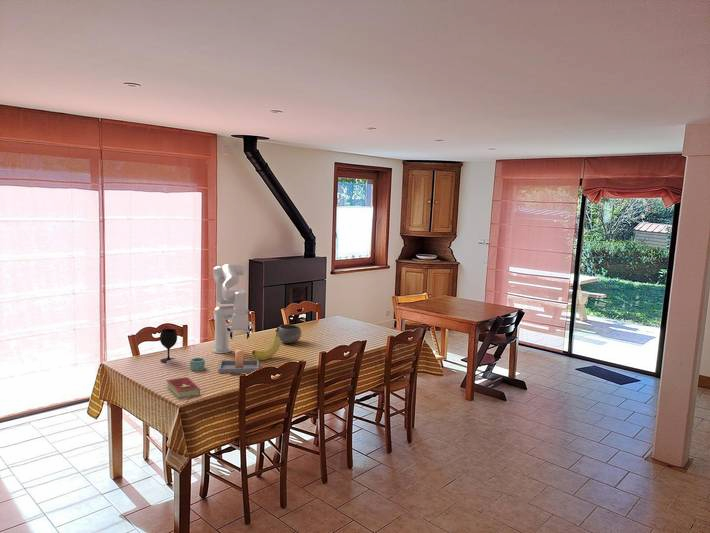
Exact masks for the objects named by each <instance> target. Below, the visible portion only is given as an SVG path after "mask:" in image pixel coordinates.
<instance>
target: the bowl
mask: <svg viewBox="0 0 710 533" xmlns="http://www.w3.org/2000/svg"><path fill="white" fill-rule="evenodd" d="M278 328H279V331H278V336H279V338H280V342H282V343H284V344H288V343H289V344H294V343H296V342H298V341H299V340H300V339H301V337H302V330H301V327H300V325H298V324H292V323H289V324H288V323H286V324H281V325H280V326H278Z"/></svg>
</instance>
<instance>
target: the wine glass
mask: <svg viewBox="0 0 710 533" xmlns="http://www.w3.org/2000/svg"><path fill="white" fill-rule="evenodd" d="M159 340H160V341H159V342H160V344H161V345H162V346H163V347H164V348H166V349H167V357H165V358H162V359H160V360H159V362H160V361H161V362H160V363H162V362H163V363H162V364H167V363H168V362H169V361H171V360H176V358H174V357H170V351H171V348H173V347H174V346H175V345H176V343H177V341H178V333H177V330H176V329H175V328H165V329H162V330H161V331H160V334H159Z"/></svg>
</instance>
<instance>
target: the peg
mask: <svg viewBox="0 0 710 533" xmlns="http://www.w3.org/2000/svg"><path fill="white" fill-rule="evenodd" d="M244 355H245V354H244V349H236V350H235V354H234V360H235V368H243V360H244Z"/></svg>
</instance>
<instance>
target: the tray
mask: <svg viewBox="0 0 710 533" xmlns="http://www.w3.org/2000/svg"><path fill="white" fill-rule="evenodd" d="M259 361H260V360H258V359H243V368H235V359H220V360H219V364H218V374H229V375H242V374H241V373H246V374H245V375H249V374H248V373H251V372H253V371H255V370H257V369H259V370H260V364H259V363H260V362H259Z"/></svg>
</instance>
